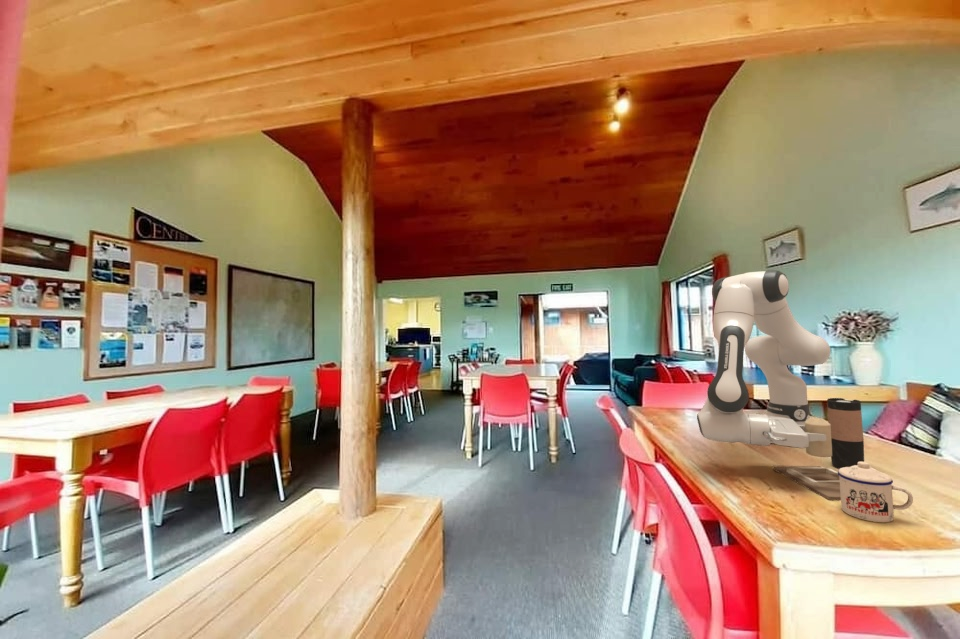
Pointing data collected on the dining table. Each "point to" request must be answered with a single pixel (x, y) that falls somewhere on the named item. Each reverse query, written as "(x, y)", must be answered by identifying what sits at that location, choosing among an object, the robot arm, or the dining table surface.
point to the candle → (819, 446)
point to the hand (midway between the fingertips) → (822, 434)
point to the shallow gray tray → (814, 479)
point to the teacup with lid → (869, 493)
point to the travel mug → (846, 432)
